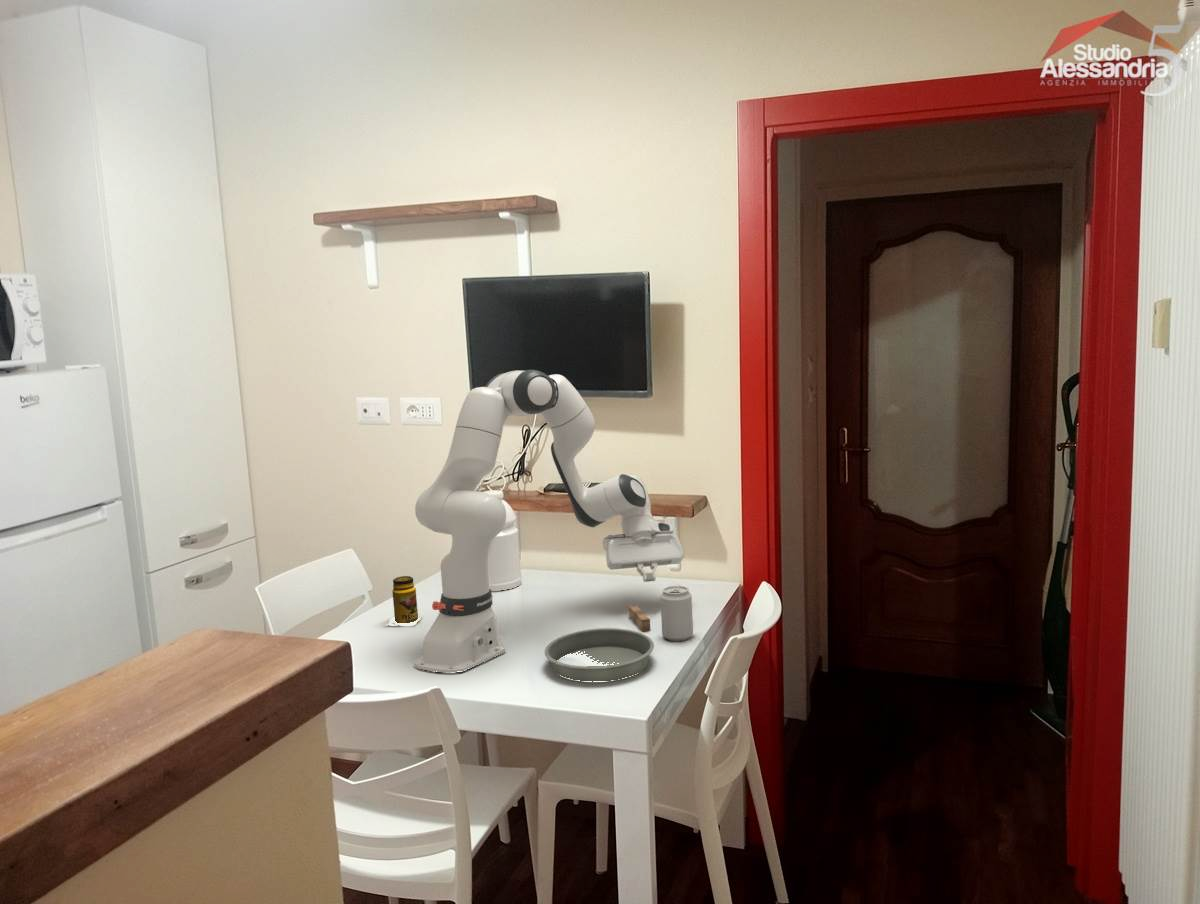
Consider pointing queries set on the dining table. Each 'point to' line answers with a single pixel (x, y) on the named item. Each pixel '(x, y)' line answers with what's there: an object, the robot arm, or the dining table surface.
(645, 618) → the parallel wooden bars
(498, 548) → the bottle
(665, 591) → the can
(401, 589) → the condiment
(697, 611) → the dining table surface
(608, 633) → the cake pan
